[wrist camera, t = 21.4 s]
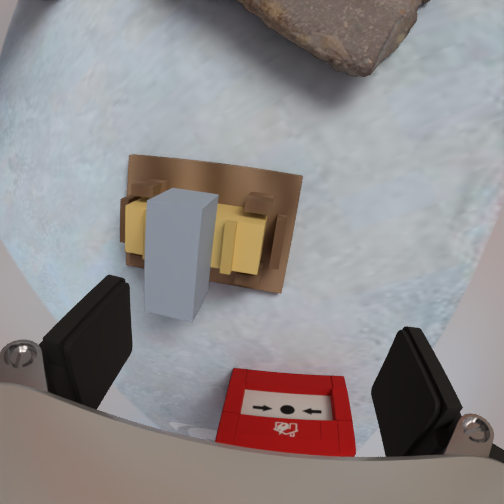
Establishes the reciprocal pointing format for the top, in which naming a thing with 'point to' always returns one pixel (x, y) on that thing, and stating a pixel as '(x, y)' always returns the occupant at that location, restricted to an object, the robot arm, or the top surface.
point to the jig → (230, 193)
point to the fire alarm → (287, 413)
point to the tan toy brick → (225, 236)
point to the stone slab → (341, 28)
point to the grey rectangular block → (178, 252)
